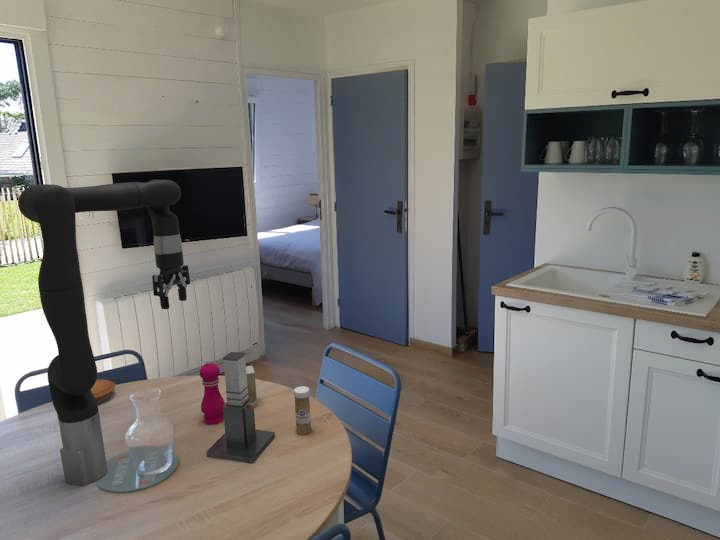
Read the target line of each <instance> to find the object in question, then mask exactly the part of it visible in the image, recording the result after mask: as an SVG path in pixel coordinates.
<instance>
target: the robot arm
mask: <svg viewBox="0 0 720 540" xmlns="http://www.w3.org/2000/svg"><path fill="white" fill-rule="evenodd" d="M181 196H182V190H181V187H180V186H179V185H178V184H177V183H176V182H175V181H173V180H171V179H151V180H149V181H148V182H147V181H146V182H137V181H130V182H117V183H108V184H100V185H90V186H81V187H80V186H78V187H76V186H75V187H63V186H61V185H59V184H46V183H44V184H43V183H38V184H33V185H31V186H28V187H26V188H25V189H24V190H23V191H21V193H20V195H19V196H18V201H17V207H18V210H19V211H20V213H21V214H22V215H23V217H24V218H26V219H27V220H29V221H31V222H34V223H37V224H38V225H39V229H40V232H41V237H42V242H43V243H42V245H43V250H42V251H43V254H42V258H41V263H40V267H39V271H38V277H37V278H38V280H37V281H38V282H37V283H38V291H39V292H38V293H39V297H40V304H41V308H42V312H43V315H44V316H45V320H46V322H47V324H48V326H49V328H50V330H51V333H52V335H53V337H54V339H55V342H56V345H57V352H58V354H57V355H55V357H53V359H52V360H51V361H50V362H49V365H48V367H47V382H48V387H49V393H50V398H51V402H52V405H53V407H54V410H55V412H56V414H57V422H58V426H59V431H60V433H59V434H60V438H61V444H62V447H61V448H60V449H59V453H60V458H61V464H62V470H63V476H64V483H67V484H72V485H78V486H83V487H85V486H87V485H88V484H90V483H93V482H96V481H97V480H99V479H101V478H102V477H104V476H105V475H106V473H107V472H108V464H107V458H106V451H105V446H104V445H105V444H104V438H103V433H102V432H103V431H102V425H101V417H100V412H99V404H98V403H97V400H96V398H95V397H94V395H93V393H92V391H91V388H92V387H93V386H94V384H95V382H96V380H97V379H98V368H97V364H96V359H95V356H94V352H93V349H92V345H91V340H90V336H89V327H88V326H89V325H88V319H87V310H86V303H85V293H84V287H83V279H82V273H81V268H80V261H79V253H78V248H77V247H78V246H77V230H76V229H77V228H76V227H77V222H76V213H79V214H80V213H89V212H115V211H127V210H128V211H129V210H134V209H141V208H145V207H146V208H147V211H148V212H147V213H148V214H149V216H150V219H151V222H152V233H153V249H154V258H155V265H156V266H155V267H156V268H158V270H159V274H153V275H152V277H151V279H152V291H153V296H155V297H159V303H160V307H161V309H162V310H169V309H170V299H169V294H170V293H169V292H170V290H172V288H173V286H177V294H178V300H179V301H180V302H185V301H187V300H188V299H187V297H188V296H187V289H188V288H187V287H188V285H190V284H191V278H190V271H189V270H190V269H189V265H188V264H187V265H184V264H185V263H184V255H183V253H184V252H183V244H182V238H181V234H180V223H179V217H178V216H177V215H176V214H175V213H174V212H172V211H171V210H170V206H173V205H175V204H176V203H178V202H179V200H180V199H181Z"/></svg>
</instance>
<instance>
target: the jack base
mask: <svg viewBox="0 0 720 540" xmlns="http://www.w3.org/2000/svg"><path fill="white" fill-rule="evenodd" d="M248 399H249V401H248V402H247V403H246V404H245V405H244V406H243V407H242V408H241V407H233V406H227V401H226V402H225V404H224V405H223V415H224V420H223V423H224V434H222V435H221V436H220V437H219V438H218V439H217V440H216V442H214V443H213V444H212V445H211V446H210V447H209V448H208V449H207V450H206V452H205V453H206V457H208V458H214V459H215V458H216V459H221V460H228V461H235V462H242V463H247V464H254V463H255V462H256V461H257V459H258V458H259V457H260V455H261V454H262V453H263V452H264V451H265V449H266V448H267V447H268V446H269V445H270V443H271V442H272V441H273V439H275V437H276V432H275V431H269V430H261V429H256V428H257V427H256V417H255V416H256V415H255V408H256V407H255V403H253V398H248Z"/></svg>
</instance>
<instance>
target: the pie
mask: <svg viewBox="0 0 720 540" xmlns="http://www.w3.org/2000/svg"><path fill="white" fill-rule="evenodd" d="M116 386H117V385H116V383H115V382H113V381H112V380H108V379H100V378H99V379H98V378H97V379H96V382H95V384H94V386H93V387H92V388H91V391H92V393H93V395H94V397H95V398H96V400H97V403H98V405H100V404H102V403H104V402H106V401H108V400H109V399H110V398H111V397H112V393H113V392H114V390H115V388H116ZM99 403H100V404H99Z"/></svg>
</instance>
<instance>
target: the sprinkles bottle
mask: <svg viewBox="0 0 720 540" xmlns="http://www.w3.org/2000/svg"><path fill="white" fill-rule="evenodd" d="M310 395H311V393H310V388H309V387H308V386H297V387H295V388H294V390H293V396H294V410H295V412H294V413H295V427H296V429H295V432H296V433H297V434H299V435H308V434H309V433H311V431H312V427H311V404H310Z"/></svg>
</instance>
